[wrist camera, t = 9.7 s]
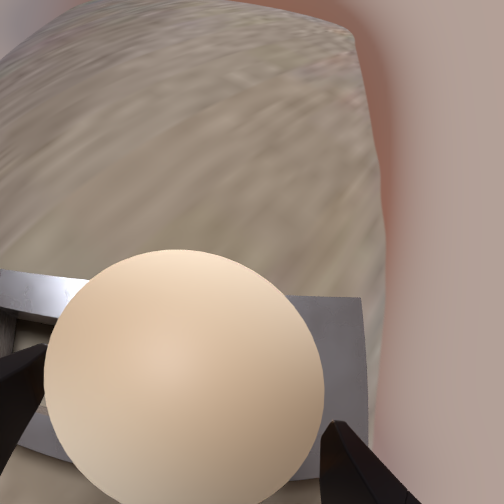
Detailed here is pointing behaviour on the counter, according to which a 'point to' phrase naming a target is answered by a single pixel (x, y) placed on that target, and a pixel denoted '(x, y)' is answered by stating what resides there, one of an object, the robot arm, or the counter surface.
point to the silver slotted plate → (309, 307)
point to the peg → (183, 381)
